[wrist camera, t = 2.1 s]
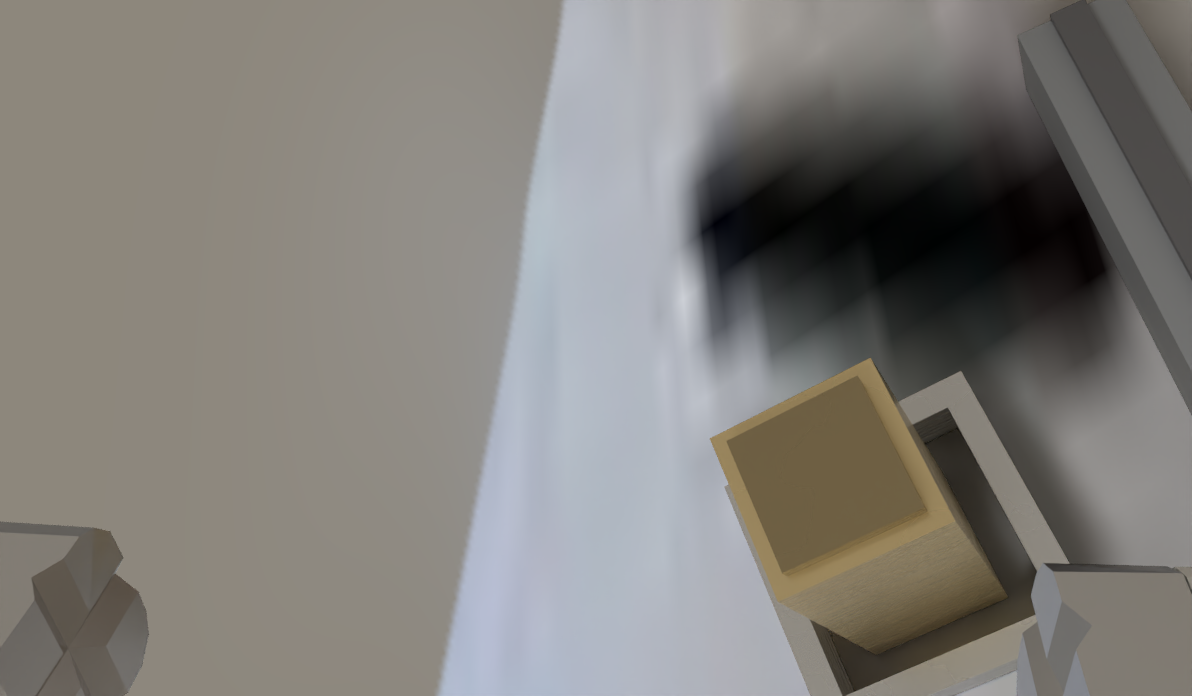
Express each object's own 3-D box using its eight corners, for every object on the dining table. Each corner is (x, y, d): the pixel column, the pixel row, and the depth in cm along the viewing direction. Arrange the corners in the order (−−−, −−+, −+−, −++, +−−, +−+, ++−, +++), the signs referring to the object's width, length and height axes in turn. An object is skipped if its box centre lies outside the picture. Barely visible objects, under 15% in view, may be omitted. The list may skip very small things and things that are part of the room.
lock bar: (1008, 597, 31) (952, 516, 22) (876, 654, 32) (772, 598, 23) (942, 471, 33) (866, 351, 24) (819, 529, 34) (703, 433, 25)
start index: (1105, 633, 29) (1102, 622, 28) (845, 740, 31) (828, 737, 30) (970, 392, 33) (961, 370, 31) (744, 501, 35) (724, 486, 33)
